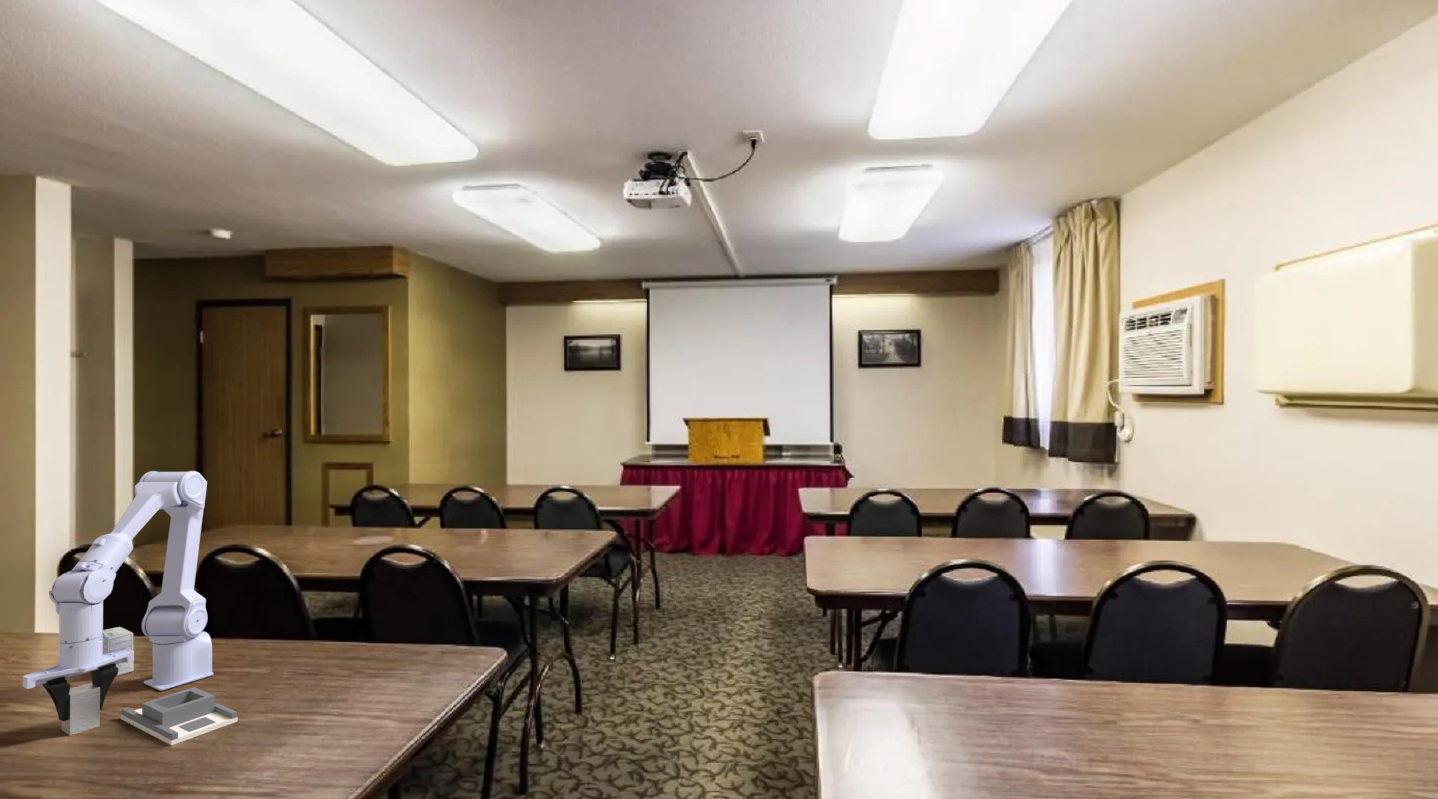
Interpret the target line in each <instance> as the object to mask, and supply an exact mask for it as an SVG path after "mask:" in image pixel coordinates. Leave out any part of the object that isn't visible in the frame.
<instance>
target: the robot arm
mask: <svg viewBox="0 0 1438 799" xmlns="http://www.w3.org/2000/svg"><path fill="white" fill-rule="evenodd" d="M207 485H208V481H207V480H206V479H205V477H204V476H203V475H202V474H201V473H200V472H198V471H196V470H190V471H156V470H151V471H147V472H146V473H144V474H143V475H142V476H141V477H140V480H139V482H137V484H135V486H134V495H135V496H134V498H133V499H132V501H131V502H130V504H129V505H128V506H127V509H126V510H125V511H124V513H123V514H122V516H121V518H120V519H119V520H118V522H117V523H116V525H115V526H114V528H113V529H112V530H111V532H110V533H107V534H102V535H100V536H98V537H97V538H95V539H94V541H92V543H91V544H92V545H91V546H90V547H89V548H88V550H87V551H86V552H85V554H84V555H83V556H82V557H80V559H79V561H78V562H77V563H76V565H75V566H74V567H73V568H72V569H71V571H67V572H65V573H63V574H61V575H60V576H58V577H57V578H56V579H55V581H54V582H53V584H52V587H51V589H50V590H49V591H48V596H49V599H50V600H51V601H52V603H54V605H55V613H56V614H58V616H59V617H58V620H59V621H58V633H59V634H58V664H56V665H53V666H51V667H47V668H45V669H42V670H39V671H35V672H32V673H29V674H25V675H23V676H22V687H23V688H24V689H26V690H29V689H32V688H36V686H40V685H42V687H43V689H45V691H46V693H47V694H48V695H49V697H50V698H51V700H52V702H53V704H54V706H55V710H56V712H57V717H58V718H57V719H58V720H59V721H60V722H61V721H67V720H68V716H69V707H68V699H69V692H70V688H71V686H72V684H71V683H68V679H67V678H70V677H75V676H78V675H81V674H86V673H89V672H90V673H91V674H90V675H91V683H93V684H95V685H97V686H99V687H100V711H102V710H103V706H104V703H105V700H106V697H107V695H108V692H109V689H110V687H111V685H112V683H113V682H114V680H115V679H116V677H118V676H117V674H118V670H119V668H117V667H116V665H117V664H121V663H124V662H126V663H129V662H132V661H133V662H134V661H135V651H134V650H133V651H132V650H130V649H128V650H124V651H119V652H114V653H108V654H103V630H104V600H105V599H106V598H107V597H109V595H110V594H111V593H112V591H113V587H114V581H115V579H116V576H117V571H118V570H119V569H120V567H121V566H122V564H123V563H124V562H125V561H126V559H127V558H128V557H129V555H130V554H131V553H132V551H133V549H134V545H133V542H132V541H133V539H134V538H135V537H136V536H137V535H138V533H139V532H141V530H142V529H143V528H144V527H145V526H146V524H147V523H149V521H150V520H151V519H152V517H154V515H155V514H156V513H157V512H158V511H159V510H163V511H164V512H166V513H167V514H168V516H170V523H169V530H168V537H167V545H166V552H165V562H164V570H163V576H162V583H161V584H162V585H161V592H160V593H158V594H157V595H156V596H154V597H153V598H152V599H151V600H149V602H147V603H148V604H147V605H148V606H147V609H146V612H145V614H144V617H143V618H142V621H141V630H142V633H143V634H144V636H145V637H147V638H148V639H149V640H148V642H151V643H152V678H150V679H146V680H144V681H143V684H144V685H147V686H148V687H151V688H153V689H154V690H155V689H156V690H158V691H160V692H161V691H164V690H168V689H172V688H176V687H178V686H182V685H184V684H189V683H191V682H195V681H198V680H201V679H205V678H208V677H211V676H212V677H213V675H214V672H213V643H212V638H211V635H210V634H209V633H208V632H206V631H204V629H205V627H206V625H207V623H208V612H207V608H206V603H207V599H206V598H205V597H204V596H203V595H201V594H200V593H198V592H197V591H196V590H195V583H196V576H197V575H196V574H197V565H198V559H199V550H200V543H201V542H200V541H201V534H202V525H203V517H204V509H205V503H206V497H207V487H208V486H207Z"/></svg>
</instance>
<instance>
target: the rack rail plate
mask: <svg viewBox="0 0 1438 799" xmlns="http://www.w3.org/2000/svg"><path fill="white" fill-rule="evenodd" d="M141 707H142V708H141ZM141 707H140V708H138V709H135V710H133V709H131V708H129V707H123V708H121V714H120V719H121V720H122V721H124V722H125V723H127V724H129V723H130V725H132V726H133V727H135V728H137V729H139V730H141V731H142V732H144V733H146V734H149V735H150V736H153V737H154V738H156V739H158V740H160V741H161V742H164V743H166V744H168V745H170V746H174V745H177V744H179V743H182V742H185V741H188V740H190V739H193V738H195V737H198V736H201V735H205V734H207V733H210V732H213V731H214V730H218V729H221V728H223V727H226V726H228V725H232V724H235V723H236V722H239V721H238V720H239V719H238V711H236V710H234V709H231V708H229V707H227V706H225V705H222V704H220V703H217V702H216V696H215V695H214V694H212V693H209V692H208V691H204V690H203V689H200V688H197V687H190V688H186V689H182V690H180V691H177V692H174V693H171V694H167V695H163V696H161V697H158V698H154V699H150V700H148V701H145V702H142V704H141Z"/></svg>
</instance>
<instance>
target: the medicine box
mask: <svg viewBox="0 0 1438 799" xmlns="http://www.w3.org/2000/svg"><path fill="white" fill-rule="evenodd" d="M128 649H130V650H132V651H134V633H133V632H132V631H129V630H127V629H126V628H123V627H121V626H118V627H117V626H116V627H113V628H108V629H107V628H106V629H103V654H108V653H114V652H119V651H124V650H128ZM116 667H117V668H119V670H118V674H117V676H116V677H119V676H122V675H125V674H129V672H130V673H133V672H134V661H132V662H129V663H126V662H124V663H121V664H117V665H116Z"/></svg>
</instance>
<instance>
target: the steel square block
mask: <svg viewBox="0 0 1438 799" xmlns="http://www.w3.org/2000/svg"><path fill="white" fill-rule="evenodd" d="M68 707H69V716H68V720H67V721H61V720H60V722H61V724H60V725H61V731H62V732H63V731H64V734H65V733H66V734H67V735H69V736H72V734H73V735H76V734H79V733H83V732H85V731H89V730H92V729H95V728H98V727H100V726H101V724H100V722H101V719H100V718H101V714H100V713H101V710H100V687H99V686H97V685H95V684H93V683H92V682H89V683H84V684H81V685H78V686H74V687H70V692H69V699H68Z"/></svg>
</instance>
